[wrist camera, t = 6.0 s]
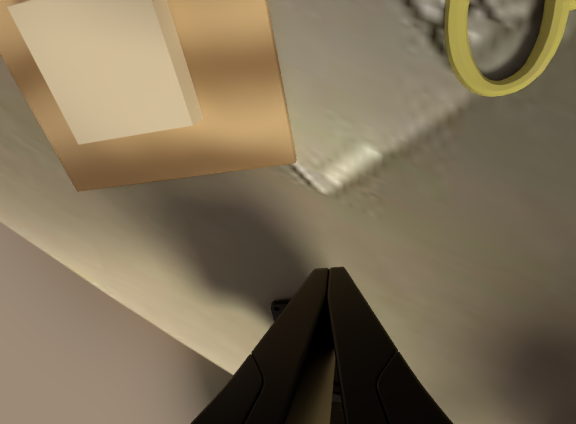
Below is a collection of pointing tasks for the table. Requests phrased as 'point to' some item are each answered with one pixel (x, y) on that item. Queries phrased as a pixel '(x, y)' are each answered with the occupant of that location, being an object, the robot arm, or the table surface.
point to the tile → (110, 65)
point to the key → (545, 47)
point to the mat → (210, 92)
